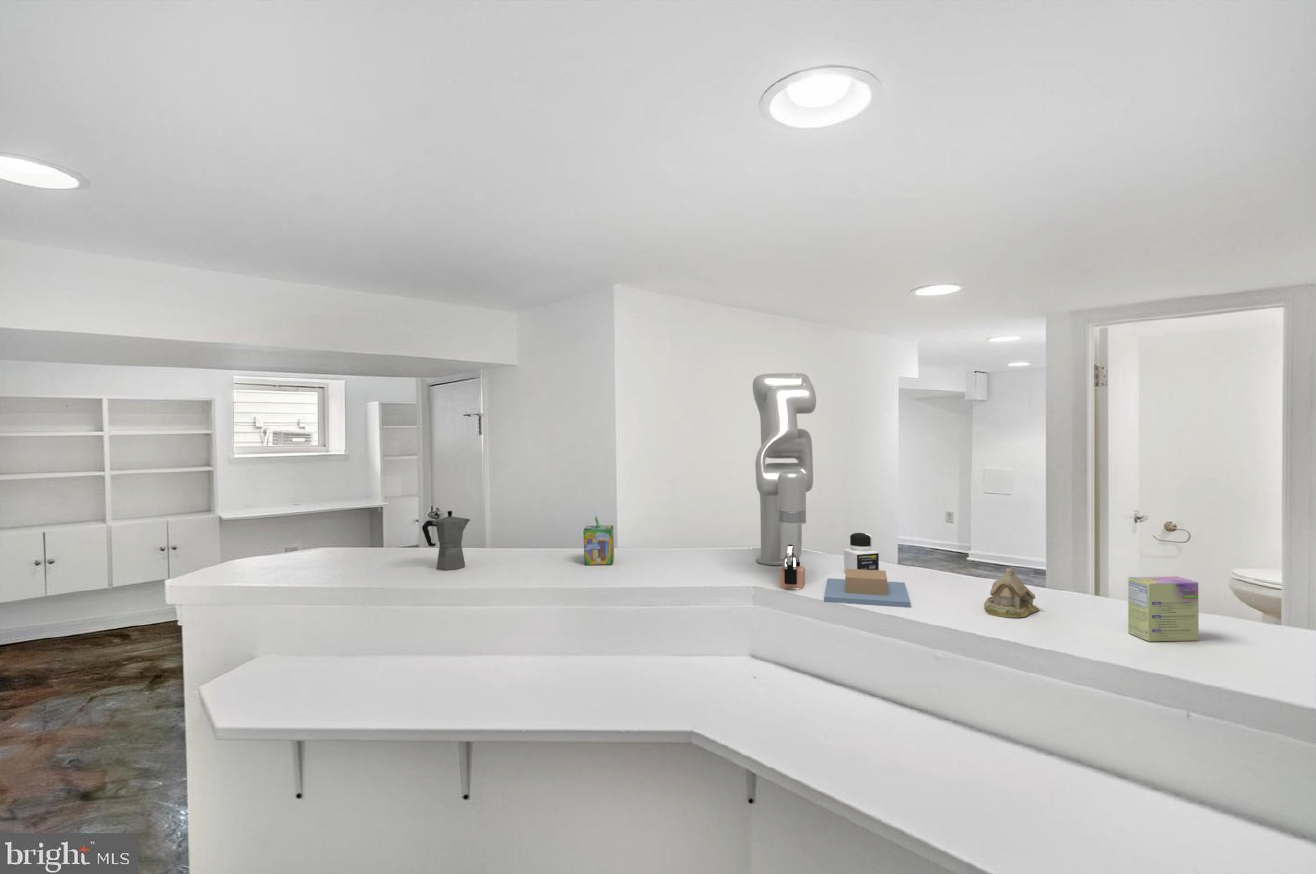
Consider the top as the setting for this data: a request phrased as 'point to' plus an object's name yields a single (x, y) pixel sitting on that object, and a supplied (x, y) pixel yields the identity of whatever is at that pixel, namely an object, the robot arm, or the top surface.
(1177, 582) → the box
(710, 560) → the top surface
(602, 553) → the chalk box
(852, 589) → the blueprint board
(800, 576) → the terracotta block
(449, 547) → the coffeepot
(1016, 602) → the ceramic model
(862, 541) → the medicine bottle
